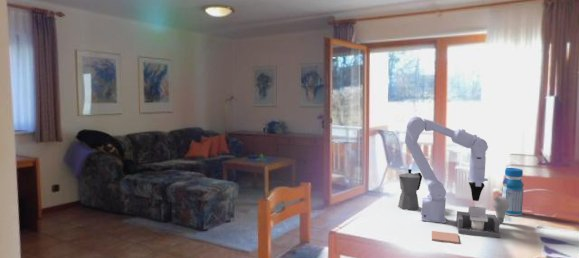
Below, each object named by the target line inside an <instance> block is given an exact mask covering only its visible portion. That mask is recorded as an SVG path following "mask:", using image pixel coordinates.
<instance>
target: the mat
mask: <svg viewBox="0 0 579 258" xmlns="http://www.w3.org/2000/svg"><path fill="white" fill-rule="evenodd" d="M458 234H459V233H454V232H453V233H452V232H447V231H446V232H444V231H437V230H431V240H432V241H434V242H441V243H443V242H444V243H451V244H459V245H460V240H459V239H460V238H459V235H458Z"/></svg>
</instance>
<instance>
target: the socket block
mask: <svg viewBox="0 0 579 258" xmlns="http://www.w3.org/2000/svg"><path fill="white" fill-rule="evenodd" d="M485 214H486V216H487V218H488V222H485V221H484V231H482V230H473V229H471V222H472V220H470V218H469V215H468V212H467V211H458V210H457V211H456V222H455V224H456V228H457V234H460V235H469V236H470V235H471V236H479V237H487V238H498V239H500V238H501V234H500V224H501V223H499V221H498V219H497V216H496V214H489V213H485Z"/></svg>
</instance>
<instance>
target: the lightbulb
mask: <svg viewBox="0 0 579 258" xmlns="http://www.w3.org/2000/svg"><path fill="white" fill-rule="evenodd" d="M492 205H493V208H494V210H495V216H496V217H497V219H498V221H499V223H500V224H502V223H504V221H505V220H504V219H505V218H506V217H505V216H506V214H505V213H506V211H507V210H508V208H509V206H510V204H509V201H508V200H507V199H506V198H505V197H502V195H500V196H496V197H495V198H494V199H493V201H492Z"/></svg>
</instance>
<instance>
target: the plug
mask: <svg viewBox="0 0 579 258" xmlns="http://www.w3.org/2000/svg"><path fill="white" fill-rule="evenodd" d="M470 229H473V230H482V231H485V230H484V221H475V220H472V222H471V228H470Z"/></svg>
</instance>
